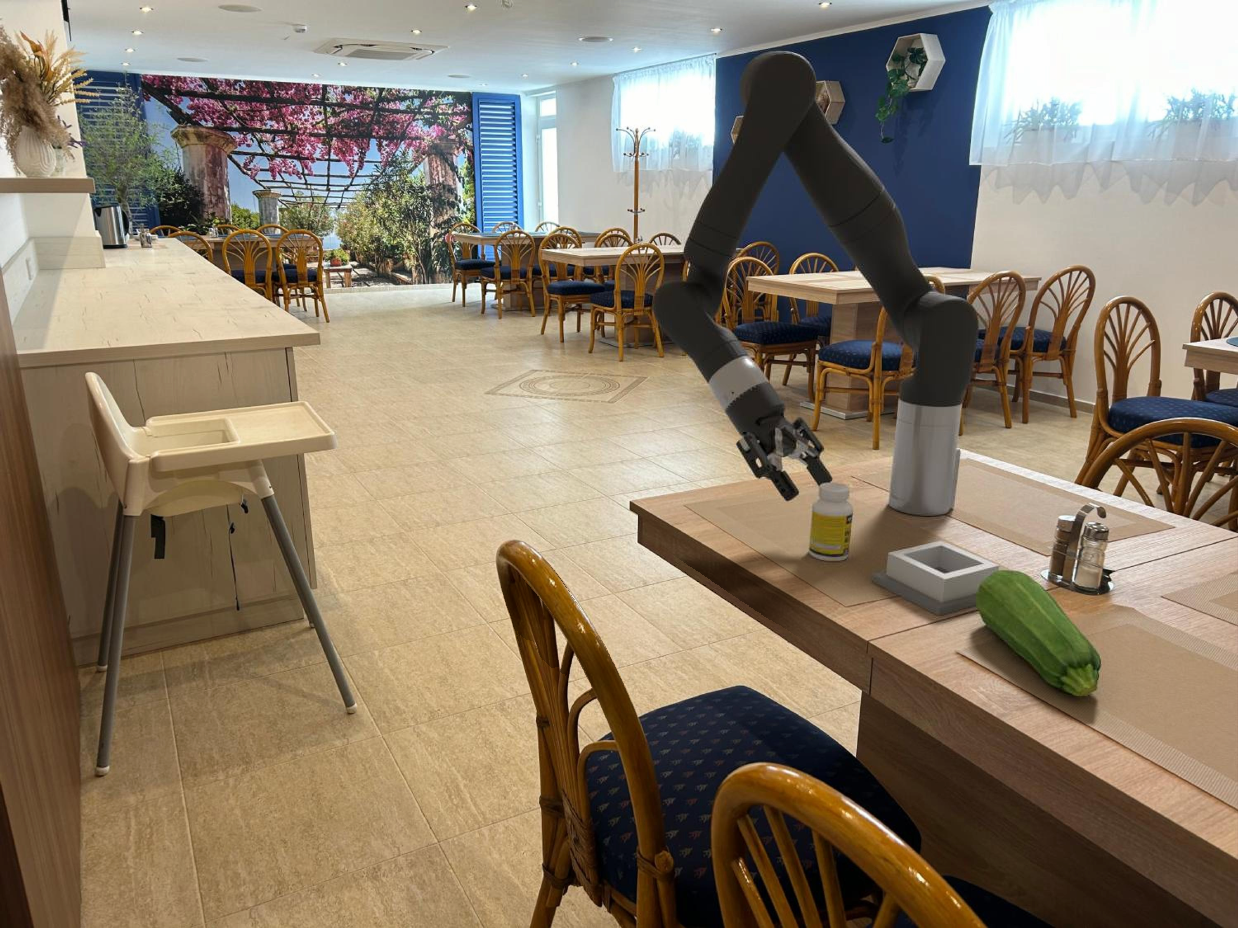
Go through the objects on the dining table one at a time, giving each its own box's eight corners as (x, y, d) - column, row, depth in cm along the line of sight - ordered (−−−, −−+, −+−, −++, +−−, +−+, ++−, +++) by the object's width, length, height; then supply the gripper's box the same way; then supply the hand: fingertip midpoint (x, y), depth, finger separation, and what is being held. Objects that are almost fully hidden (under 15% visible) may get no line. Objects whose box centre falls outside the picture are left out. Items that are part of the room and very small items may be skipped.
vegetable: (1016, 549, 103) (1118, 633, 84) (1036, 600, 105) (1139, 693, 86) (957, 577, 104) (1044, 666, 85) (977, 627, 106) (1067, 724, 87)
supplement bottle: (849, 564, 120) (855, 494, 117) (808, 560, 121) (813, 491, 118) (848, 549, 125) (853, 482, 122) (808, 545, 126) (813, 479, 123)
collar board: (940, 564, 120) (943, 536, 119) (1009, 596, 111) (1013, 565, 110) (872, 581, 115) (874, 552, 113) (938, 615, 105) (942, 584, 104)
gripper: (732, 387, 120) (800, 488, 115) (791, 373, 130) (856, 465, 125) (699, 419, 125) (763, 517, 120) (758, 403, 135) (820, 493, 130)
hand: (810, 490), depth 123 cm, fingers open, 8 cm apart
